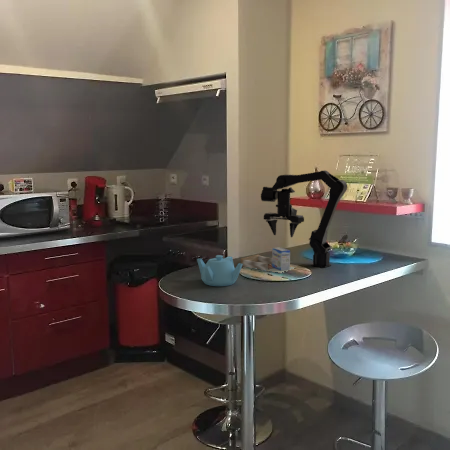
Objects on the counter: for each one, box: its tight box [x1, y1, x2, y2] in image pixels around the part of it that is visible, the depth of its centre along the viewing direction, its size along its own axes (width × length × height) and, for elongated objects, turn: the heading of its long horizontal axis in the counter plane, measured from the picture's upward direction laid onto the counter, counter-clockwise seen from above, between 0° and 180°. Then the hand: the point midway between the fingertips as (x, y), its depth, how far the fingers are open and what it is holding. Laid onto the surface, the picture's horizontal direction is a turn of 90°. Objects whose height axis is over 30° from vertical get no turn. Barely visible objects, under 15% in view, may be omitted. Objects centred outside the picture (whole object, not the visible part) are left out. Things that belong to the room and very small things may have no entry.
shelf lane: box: [240, 254, 272, 272], centre depth 228 cm, size 14×12×4 cm
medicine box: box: [271, 246, 291, 271], centre depth 222 cm, size 8×4×9 cm, turn 25°
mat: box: [266, 266, 296, 274], centre depth 222 cm, size 7×12×1 cm, turn 140°
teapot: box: [196, 254, 243, 287], centre depth 200 cm, size 15×15×11 cm
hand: (283, 236), depth 236 cm, fingers open, 9 cm apart
